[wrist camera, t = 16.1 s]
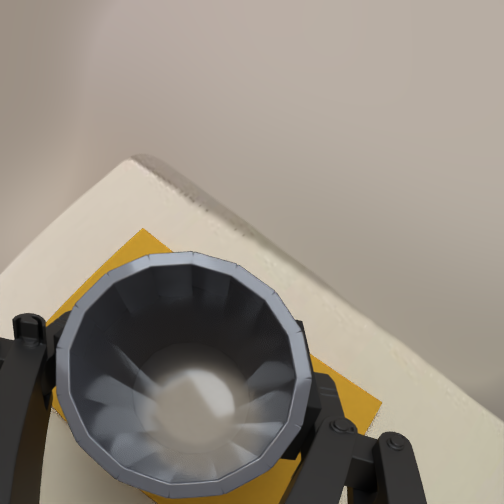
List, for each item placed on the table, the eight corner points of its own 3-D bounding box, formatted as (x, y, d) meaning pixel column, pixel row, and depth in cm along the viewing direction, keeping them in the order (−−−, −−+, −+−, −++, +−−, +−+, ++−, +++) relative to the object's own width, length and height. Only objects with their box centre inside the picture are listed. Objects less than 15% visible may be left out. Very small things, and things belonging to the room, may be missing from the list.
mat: (19, 360, 16) (14, 357, 16) (144, 233, 23) (142, 227, 22) (262, 561, 12) (265, 565, 12) (376, 403, 19) (382, 402, 18)
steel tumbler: (102, 401, 16) (13, 369, 7) (182, 313, 19) (169, 213, 11) (204, 484, 14) (206, 544, 6) (281, 387, 18) (354, 345, 9)
